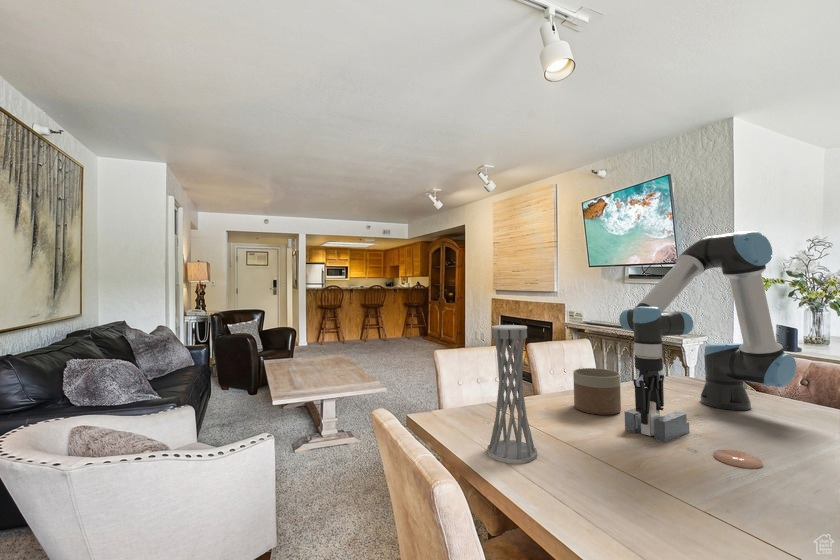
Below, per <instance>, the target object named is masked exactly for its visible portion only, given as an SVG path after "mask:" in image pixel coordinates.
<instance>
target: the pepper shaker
mask: <svg viewBox="0 0 840 560" xmlns="http://www.w3.org/2000/svg"><path fill="white" fill-rule="evenodd" d="M649 413H650V414H651V431H652V437H653V436H654V437H655V435H654V424H653V420H654V419H656V418H659V417H660V415H661V414H660V415H659V414H658V413H656V403H655V402H652V401H650V408H649Z"/></svg>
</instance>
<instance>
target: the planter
mask: <svg viewBox="0 0 840 560" xmlns="http://www.w3.org/2000/svg"><path fill="white" fill-rule="evenodd" d="M572 371H573V374H572V375H573V405H574V408H575V409H577V410H579V411H580V412H583V413H587V414H590V415H596V416H611V415H616V414H618V413H620V412H621V411H622V401H621V400H622V399H621V396H622V395H621V374H620V372H617V371H616V370H615V371H614V370H613V369H607V368H606V369H605V368H597V367H595V368H594V367H584V368H582V367H581V368H577V369H574V370H572Z"/></svg>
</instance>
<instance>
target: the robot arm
mask: <svg viewBox="0 0 840 560" xmlns="http://www.w3.org/2000/svg"><path fill="white" fill-rule="evenodd" d="M772 256H773V247H772V244H771V242H770V240H769V239H768V238H767V237H766V236H765V235H764V234H762V232H758V231H757V230H756V231H755V230H748V231H737V232H730V233H724V234H717V235H710V236H705V237H704V238H702V239H699V240H698V241H696V242H694V243H693V244H691V245H690V246H689V247H687V248H686V249H685V250H684V251H683V252H682V253H680V255H679V256H678V257H677V258H676V259H675V264H673V266H672V268H671V269H669V270H668V271H667V273H666V274H665V275H664V276H663V277H662V278H661V279H660V280H659V281H658V283H656V284H655V285H654V286H653V287H652V289H651V290H650V291H648V293H647V294H646V295H645V296H644V297H643V299H641V300H640V301H639V302H638V304H637V305H636V306H635V307H634V308H633V309H632V308H631V309H630V308H629V309H625V310H623V311H622V312H621V313H620V315H619V319H618V320H619V324H620V326H621V328H623V329H624V330H626V331H629V332H630V331H631V332H633V341H634V342H633V343H634V344H633V348H634V355H635V357H634V368H635V369H636V370H638V371H639V372H638V378H637V379H636V378H634V379H633V382H632V383H633V385H634V401H635V404H634V405H635V408H636V411H637V412H640V413H641V431H640V433H641V434H642V435H647V436H649V437H651V436H652V431H651V414H650V413H649V408H650V401H652V402H655V403H656V413H658V414H659V415H661V412H660V411H664V406H665V401H664V400H665V399H664V396H665V395H664V392H665V391H664V381H665V375H664V374H660V371H663V369H664V366H663V365H664V362H663V361H664V360H663V358H662V357H663V337H672V336H673V337H675V336H683V335H687V334H689V333H691V331H692V330H693V328H694V320H693V318H692V316H691V315H690V314H689V313H687V312H685V311H678V310H677V311H676V310H675V311H665V310H666V309H667V308H668V307H669V306H670V304H672V303H673V302H674V300H675V299H677V297H678V296H679V295H680V294H681V293H682V292H683V291H684V289H685V288H687V286H688V285H689V284H690V283H691V282H692V280H693V279H695V277H698V276H701V275H703V273H704V272H705V271H707V270H710V269H714V268H719V269H720V268H721V271H722V272H721V273H722V275H723V276H725V277H727V278H728V279H729V282H730V283H729V284H730V286H731V287H730V288H731V293H732V295H733V297H732V298H733V301H734V305H735V311H736V315H737V319H738V324H739V329H740V333H741V339H742V343H738V342H737V343H735V342H734V343H733V342H732V343H730V342H729V343H711V344H706V345H705V346H704V354H703V356H704V357H703V358H704V375H705V376H704V378H705V379H704V381H705V382H704V385H703V388H702V391H701V393H700V403H701V404H703V405H706V406H709V407H713V408H715V409H716V408H717V409H723V410H729V411H748V410H750V409H752V402H751V399H750V397H749V395H748V393H747V390H746V388H745V382H747V383H753V384H757V385H762V386H766V387H773V388H785V387H786V386H788V385H789V384H790V383H791V382H792V381H793V380H794V378H795V376H796V373H797V361H796V359H795V357H794V356H793V355H791V354H789V353H787V352H786V353H785V351H784V347H783V344H781V343H779V342H778V341H776V337H775V332H774V327H773V323H772V319H771V318H772V317H771V313H770V309H769V304H768V299H767V295H766V290H765V285H764V281H763V280H764V279H763V275H762V273H764V271H766V270H767V266H766V265H767V264H770V262H771V259H772ZM652 437H653V436H652Z"/></svg>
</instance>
